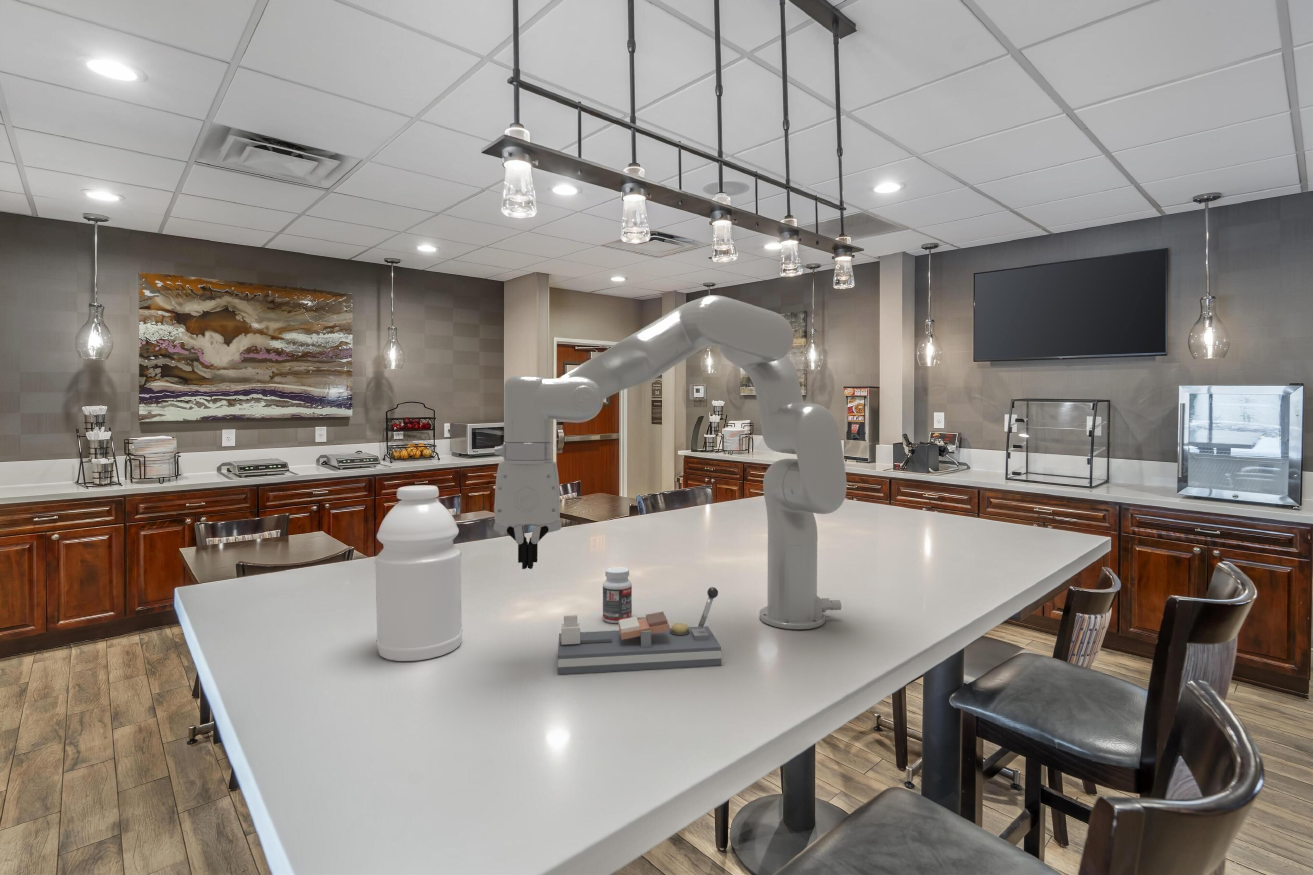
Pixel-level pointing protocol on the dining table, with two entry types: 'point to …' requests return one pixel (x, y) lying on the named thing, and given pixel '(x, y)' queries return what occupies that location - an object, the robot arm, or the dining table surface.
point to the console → (640, 650)
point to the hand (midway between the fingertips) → (527, 566)
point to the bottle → (418, 578)
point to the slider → (570, 630)
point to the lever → (707, 606)
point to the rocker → (643, 625)
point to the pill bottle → (617, 595)
